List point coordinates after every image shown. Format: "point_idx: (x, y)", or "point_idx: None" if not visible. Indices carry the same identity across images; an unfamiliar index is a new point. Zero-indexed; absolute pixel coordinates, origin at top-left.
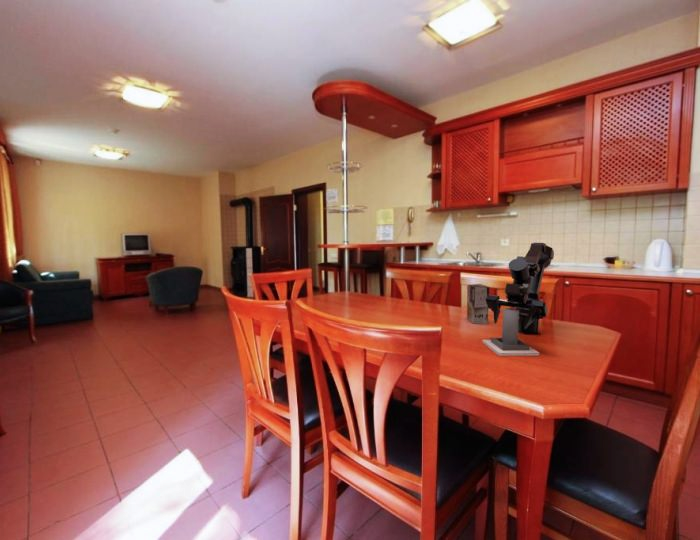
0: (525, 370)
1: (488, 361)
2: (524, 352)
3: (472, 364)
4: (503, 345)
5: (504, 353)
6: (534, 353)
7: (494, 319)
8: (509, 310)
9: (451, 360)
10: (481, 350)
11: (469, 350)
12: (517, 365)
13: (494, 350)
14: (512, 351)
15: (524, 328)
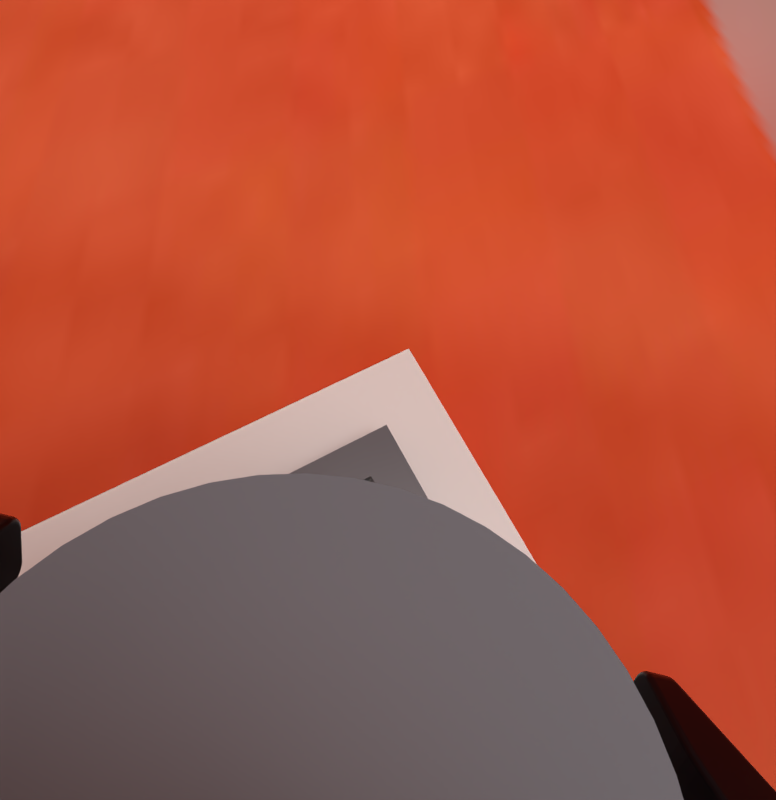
0: (188, 127)
1: (473, 196)
2: (144, 482)
3: (568, 100)
4: (380, 452)
5: (357, 374)
6: (25, 534)
7: (709, 724)
8: (372, 638)
9: (719, 117)
10: (582, 447)
11: (680, 393)
12: (243, 201)
13: (461, 447)
14: (276, 455)
15: (9, 545)
